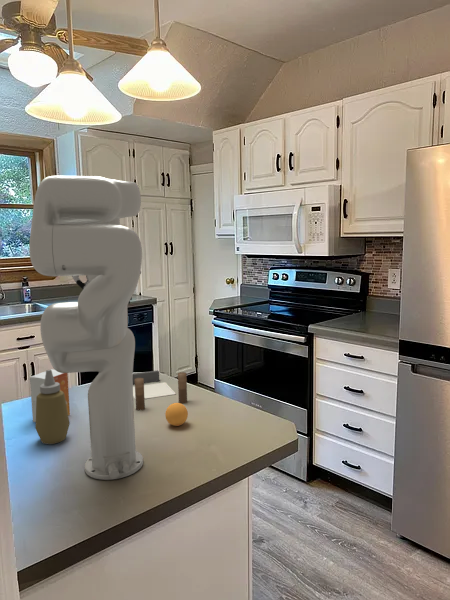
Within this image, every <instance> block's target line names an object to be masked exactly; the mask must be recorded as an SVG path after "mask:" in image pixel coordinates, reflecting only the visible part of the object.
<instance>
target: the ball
mask: <svg viewBox="0 0 450 600" xmlns="http://www.w3.org/2000/svg"><path fill="white" fill-rule="evenodd" d="M164 415H165V420H166V421H167V423H168V424H170V425H171V426H175V427H177V426H182V425H183V424H184V423H186V421H187V419H188V418H189V417H188V416H189V413H188V408H187V407H186V406H185V405H184V403H183V404H182V403H179V402H174V403H171V404H169V405H168V406H167V408H166V409H165V413H164Z"/></svg>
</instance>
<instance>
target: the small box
mask: <svg viewBox="0 0 450 600" xmlns="http://www.w3.org/2000/svg"><path fill="white" fill-rule="evenodd" d="M50 370H51V371H52V374H53V377H54V380H55V382H58V383H59V384H60V390H61V391H63V392H64V394H65V400H66V405H67V411H68V417H69V416H71V412H70V411H71V409H70V395H69V394H70V393H69V378H68V377H69V373H60V372H57V371H56V370H55V369H54V368H51V369H50ZM45 376H46V371H43V372H39V373H37V374H35V375H31V376H29V384H30V385H29V386H30V388H29V389H30V398H31V401H30V402H31V412H32V413H31V415H32V422H33V423H36V397H37V395H38V394H39V393H41V392H40V385H42V384H44V382H45Z"/></svg>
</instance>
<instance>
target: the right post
mask: <svg viewBox="0 0 450 600" xmlns="http://www.w3.org/2000/svg"><path fill="white" fill-rule="evenodd" d="M187 382H188V380H187V372H182V371H181V372H178V373H177V385H178V387H177V388H178V389H177V390H178V391H177V392H178V393H177V394H178V403H181V404H183V405H184V404H187V403H188V387H187V386H188V385H187Z"/></svg>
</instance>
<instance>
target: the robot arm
mask: <svg viewBox="0 0 450 600" xmlns="http://www.w3.org/2000/svg"><path fill="white" fill-rule="evenodd" d="M141 204H142V195H141V191H140V188H139V185H138V184H137V182H134V181H127V180H126V181H124V180H118V179H111V178H107V177H103V176H100V175H99V176H98V175H94V176H93V175H90V176H89V175H86V176H85V175H51V176H50V175H48V176H47V177H45V178H43V179H42V180H41V182H40V183H39V184H38V187H37V190H36V192H35V195H34V201H33V208H32V209H33V210H32V217H31V226H30V234H29V236H30V237H29V243H28V244H29V248H28V249H29V258H30V263H31V265H32V267H33V269H34V270H35V271H36V272H37V273H38V274H40V275H43V276H44V277H45V276H47V277H69V276H70V277H72V279H73V280H74V282H75V283H76V285H77V286H78V287H80V288H81V289H82V290H81V292H80V293H79V295H78V298H77V301H67V302H66V301H63V302H55V303H52V304H50V305H48V306H47V307H45V309H44V311H43V312H42V315H41V318H40V336H41V341H42V345H43V347H44V351H45V352H46V355H47V357H48V359H49V363H50V365H51V366H52V369H54V370H56V371H57V372H60V373H68V374H71V373H72V374H74V373H85V372H86V373H87V372H98V374H97V375H96V376H95V378H94V379H93V380H92V381H91V383H90V385H89V386H88V390H87V391H88V392H87V404H88V406H87V407H88V421H89V423H88V424H89V439H90V452H91V453H90V454H91V456H90V457H89V458H88V459H87V460H86V461H85V463H84V472H85V473H86V475H87V476H89V477H91V478H93V479H96V480H100V481H101V480H103V481H104V480H105V481H110V480H118V479H123V478H126V477H128V476H132V475H134V474H135V473H136V472H138V471H139V470H140V469H141V468H142V467H143V465H144V455H143V454H142V453H141V452H139V451H138V450H136V449H137V448H136V429H135V409H134V406H135V404H134V397H133V387H134V385H133V372H134V361H135V360H134V359H135V350H136V338H135V336H134V333H133V331H132V330H131V329H130V328H129V327H128V323H129V322H128V319H129V317H128V316H129V314H128V305H130V304H131V301H132V300H133V298H132V297H133V295H134V293H135V290H136V288H137V286H138V283H139V280H140V276H141V274H142V271H141V269H142V261H143V260H142V259H143V249H142V247H143V246H142V243H141V240H140V237H139V235H138V234H137V232H136V231H134V229H133V228H132V229H131V228H130V227H128V226H125V225H122V224H121V223H120V219H123V218H131V217H136V216H138V215H139V212H140V210H141V206H142V205H141ZM80 276H86V277H85V278H86V281H85V282H83V281H82V280H81V279H80Z"/></svg>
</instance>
